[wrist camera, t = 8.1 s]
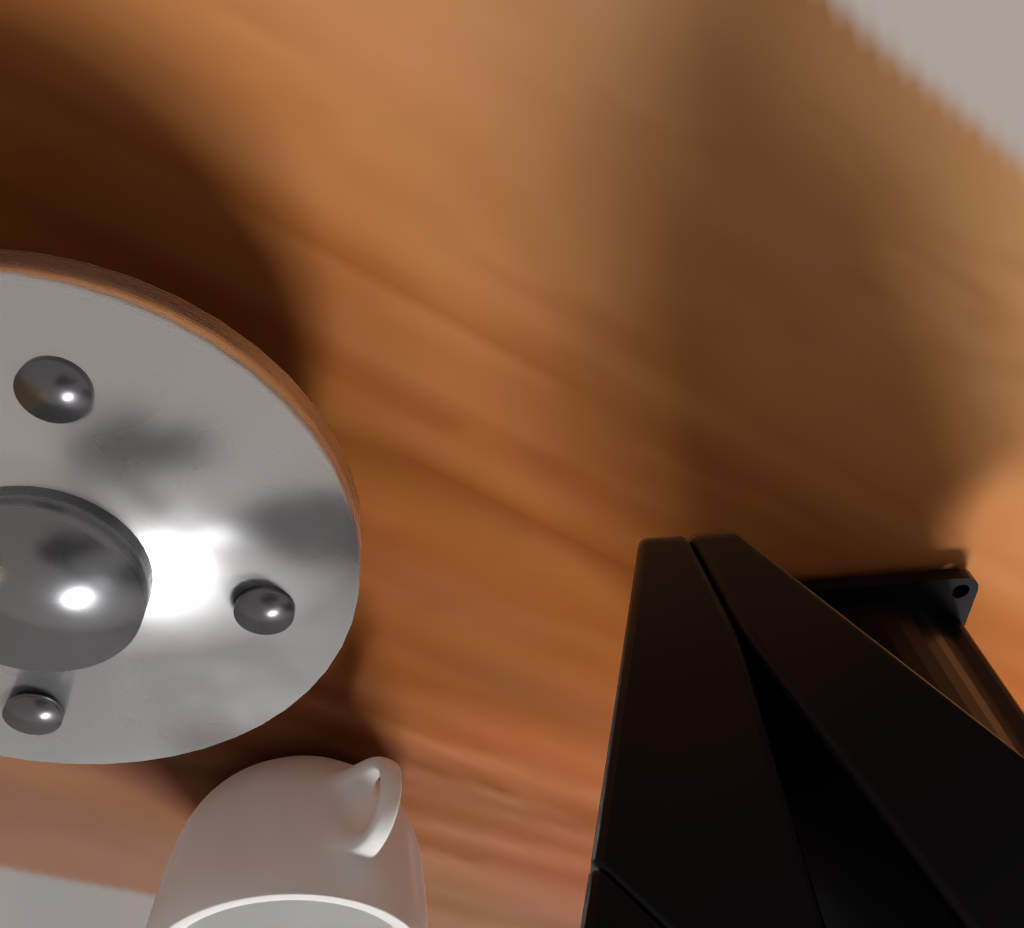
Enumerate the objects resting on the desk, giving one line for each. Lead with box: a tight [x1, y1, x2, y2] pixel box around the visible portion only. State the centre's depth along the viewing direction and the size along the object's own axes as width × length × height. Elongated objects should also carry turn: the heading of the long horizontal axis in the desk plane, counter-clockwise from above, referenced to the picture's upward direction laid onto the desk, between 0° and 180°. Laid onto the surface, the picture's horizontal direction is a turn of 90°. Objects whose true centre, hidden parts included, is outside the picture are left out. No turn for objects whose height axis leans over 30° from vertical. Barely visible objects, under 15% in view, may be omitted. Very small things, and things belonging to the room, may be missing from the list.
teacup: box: [146, 755, 428, 928], centre depth 26 cm, size 10×8×5 cm
